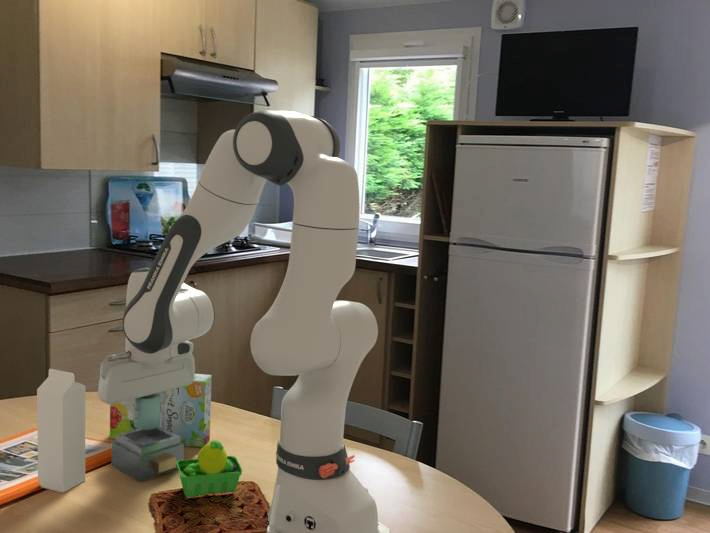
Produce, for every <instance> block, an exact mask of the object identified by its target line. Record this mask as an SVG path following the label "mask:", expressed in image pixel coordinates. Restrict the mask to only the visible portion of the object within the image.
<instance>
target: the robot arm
mask: <svg viewBox="0 0 710 533" xmlns="http://www.w3.org/2000/svg"><path fill="white" fill-rule="evenodd" d="M210 151H211V152H210V153H209V155H208V158H207V159H206V161H205V164H204V166H203V169H202V171H201V173H200V176H199V179H198V182H197V185H196V188H195V189H194V191H193V194H192V196H191V198H190V200H189V202H188V203H187V205H186V206H185V209H184V210H183V212H182V213H181V214H180V215H179V217H178V218H177V219H176V220H175V222H174V223H173V224H172V225H171V227H170V228H169V229H168V232H166V233H167V234H166V235H165V237H164V239H163V241H162V242H161V245H160V247H159V248H158V252H157V253H156V255H155V258H154V260H153V262H152V264H151V266H150V267H143V268H138V269H136V270H133V271H132V272H131V273H130V275H129V279H128V282H127V287H126V298H125V300H126V301H125V309H124V312H123V313H124V314H123V316H122V329H123V330H122V331H123V333H124V336H125V350H124V351H125V352H119V353H116V354H115V353H114V354H113V353H112V354H109V355H107V356H106V358H104V359H103V360H102V362H101V363H100V365H99V368H100V370H99V373H100V375H99V380H98V381H99V382H98V386H97V387H98V388H97V396H98V398H99V399H100V400H101V402H103V403H105V404H108V405H109V406H110V405H111V404H115V403H119V402H123V404H124V405H125V407H126V408H127V410H128V418H129V419H130V420H134V419H138V418H139V410H138V409H136V408H134V407H133V405H132V404H134V403H135V398H139V397H143V396H147V395H151V394H155V393H159V392H161V393H162V395H161V403H160V412H164V411H166V410H167V403H168V401H169V399H170V397H171V395H172V389H176V388H180V387H184V386H188V385H191V384H192V382H193V380H194V377H195V374H196V373H195V372H196V367H195V366H196V365H195V364H196V363H195V357H194V355H193V351H194V346H195V345H194V343H193V342H191V341H190V340H193V339H197V338H199V337H201V336H204V335H206V334H208V333H209V332H210V331H211V330H212V328H213V326H214V323H215V318H216V311H215V306H214V303H213V301H212V299H211V298H210V296H209V295H208V294H207V293H205V291H204V290H201V289H199V288H194V287H192V286H190V285H189V284H187V283H185V280H186V279H187V276H188V274H189V272H190V270H191V268H192V267H193V265H194V264H195V263H196V262H197V261H199V259H200V258H201V257H202V256H204V255H205V254H207V253H208V252H210V251H212V250H214V249H215V248H217V247H218V246H221V245H223V244H225V243H228V242H229V241H232V240H234V239H235V238H237V237H239V236H240V235H241V234H242V233H243V232H245V229H247V227H248V226H249V224H250V222H251V220H252V218H253V216H254V214H255V212H256V209H257V207H258V204H259V201H260V198H261V195H262V192H263V190H264V187H265V186H266V185H265V184H266V183H267V181H269V182H271V183H272V184H275V185H276V186H284V185H285V184H287V185H288V186H289V187H290V190H291V191H292V194H293V213H292V214H293V215H292V227H291V237H290V238H291V239H290V248H289V258H288V265H287V270H286V272H285V273H286V274H285V276H284V278H283V283H282V284H281V287H280V289H279V292H278V294H277V295H276V298H275V299H274V301H273V303H272V305H271V306H270V308H269V309H268V311H267V312H266V313H265V314H264V315H263V316H262V317H261V319H259V320H258V321H257V322H256V324H255V325H254V327H253V328H252V331H251V334H250V335H251V336H250V340H249V341H250V343H249V344H250V352H251V355H252V358H253V360H254V362H255V363H256V365H257V366H258V367H259V368H260V369H261V370H262V371H263V372H264V373H265V374H267V375H269V376H283V377H284V376H285V377H286V376H287V377H288V376H291V377H292V376H298V377H297V379H296V381H295V382H294V384H293V385H292V386H291V387H290V388H289V389H288V391H287V392H286V393H285V395H284V396H283V398H282V401H281V407H280V408H281V410H280V429H279V430H280V434H279V440H278V441H277V444H276V451H275V457H276V458H275V460H276V461H275V464H276V465H277V473H276V479H275V483H274V489H273V494H272V499H271V504H270V506H269V510H268V512H267V515H268V521H269V525H268V524H267V528H266V532H265V533H392V532H391V529H390V528H389V527H388V526H386V525H385V524H384V523H382V522H380V521H379V518H378V517H379V516H378V506H377V502H376V500H375V499H374V497H373V496H372V495H371V494H370V493H369V490H368V489H367V487H366V486H364V485H363V484H362V482H361V481H360V480H359V479H358V478H357V476H356V475H355V474H354V473H353V471H352V470H351V469H350V468H351V465H350V464H352V463H353V462H355V459H354V458H355V457H356V456H355V455H354V454H353V455H350V456H348V453H347V449H346V445H345V444H344V434H345V432H344V431H345V419H346V410H347V409H346V408H347V403H348V399H349V396H350V392H351V388H352V386H353V384H354V381H355V378H356V375H357V373H358V371H359V369H360V367H361V365H362V363H363V361H364V359H365V357H366V356H367V355H368V353H369V352H370V351H371V350H372V348H374V346H375V345H376V342H377V340H378V337H379V336H378V335H379V326H378V322H377V318H376V316H375V315H374V313H373V311H372V309H370V308H369V307H368V306H367V305H366V304H363V303H361V302H357V301H350V300H337V297H338V296H339V293H340V292H341V290H342V289H343V287H344V286H346V284H347V283H348V282H349V281H350V280H351V279H352V277H353V275H354V273H355V271H356V270H355V269H356V265H357V264H356V263H357V262H356V261H357V251H358V240H359V228H360V209H361V208H360V207H361V206H360V205H361V204H360V188H359V187H360V186H359V179H358V172H357V170H356V169H355V168H354V166H353V165H352V164H350V163H349V162H348V161H345V160H344V159H341V158H339V156H340V151H341V141H340V138H339V135H338V133H337V131H336V130H335V127H333V126H332V125H331V124H330V123H329V122H327V121H326V120H325V119H322V118H320V117H318V116H314V115H306V114H302V113H299V112H296V111H292V110H291V111H290V110H272V109H263V110H259V111H255V112H252V113H249V114H248V115H246V116H244V117H243V118H242V119H241V120H240V121H239V123H238V124H237V125H236V127H235V129H230V130H229V129H228V130H227V131H225V132H223V133H222V134H221V135H220V136H219V138H218V140H217V141H216V142H215V144H214V146H213V147H212V150H210Z"/></svg>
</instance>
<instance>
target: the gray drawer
mask: <svg viewBox="0 0 710 533" xmlns="http://www.w3.org/2000/svg"><path fill="white" fill-rule="evenodd" d="M184 448H185V446H184V444H183V443H181V442H180V436H178V435H176V434H174V433H172V432H170V431H167V430H165V429H163V428H161V427H157V428H154V429H148V430H143V429H135V430H131V431H128V432H124V433H121V434H117V435H115V439H114V441H111V467H112V468H115V469H116V470H118V471H120V472H121V473H124V474H125V475H127V476H129V477H130V478H132V479H134V480H136V481H137V482H139V483H142V482H145V481H147V480H148V481H149V480H151V479H154V478H157V477H159V476H162V475H165V474H168V473H171V472H174V471H176V470H178V468H177V464H176V462H177V461H179V460H184V454H185V452H184Z"/></svg>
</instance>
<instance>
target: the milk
mask: <svg viewBox="0 0 710 533" xmlns="http://www.w3.org/2000/svg"><path fill="white" fill-rule="evenodd" d="M75 376H76V375H75V374H74V373H72V372H68V371H64V370H59V369H53V368H49V369H48V377H47V378H46V379H45V380H44V381H43V382H42V383H41V385H40V386H38V387H37V389H36V407H37V408H36V410H37V412H36V413H37V414H36V416H37V417H36V418H37V419H36V423H37V424H36V425H37V426H36V427H37V430H36V431H37V483H38V482H39V483H40V485H41V487H40V488H42V489H47V490H52V491H55V492H58V493H62V494H63V493H66V492H68V491H69V490H71V489H73V488H75V487H77V486H78V485H81V483H84V482H85V481H86V385H84V384H82V383H79V382H76V380H75Z"/></svg>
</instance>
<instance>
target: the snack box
mask: <svg viewBox="0 0 710 533" xmlns="http://www.w3.org/2000/svg"><path fill="white" fill-rule="evenodd" d="M212 376H213V375H212V374H202V373H195V377H194V380H193V382H192V384H191V385H188V386H184V387H180V388H176V389H172V395H171V397H170V399H169V401H168V403H167V410H166V411H164V412H160V426H159V427H161V428H163V429H165V430H167V431H170V432H172V433H174V434H176V435H178V436H180V442H181V443H183V444H184V447H192V448H203V447H204V446H205V445H206V444H208V443H209V442H210V437H211V412H212V411H211V404H212V401H211V400H212V380H213V379H212V378H213V377H212ZM159 394H160V395H162V393H161V392H159ZM132 405H133V407H134V404H132ZM135 429H138V428H136V427H134V420H130V419H129V418H128V410H127V408H126V407H125V405H124V404H123V402H119V403H115V404H111V405H110V404H109V439H111V440H115V435H117V434H121V433H124V432H128V431H131V430H135Z"/></svg>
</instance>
